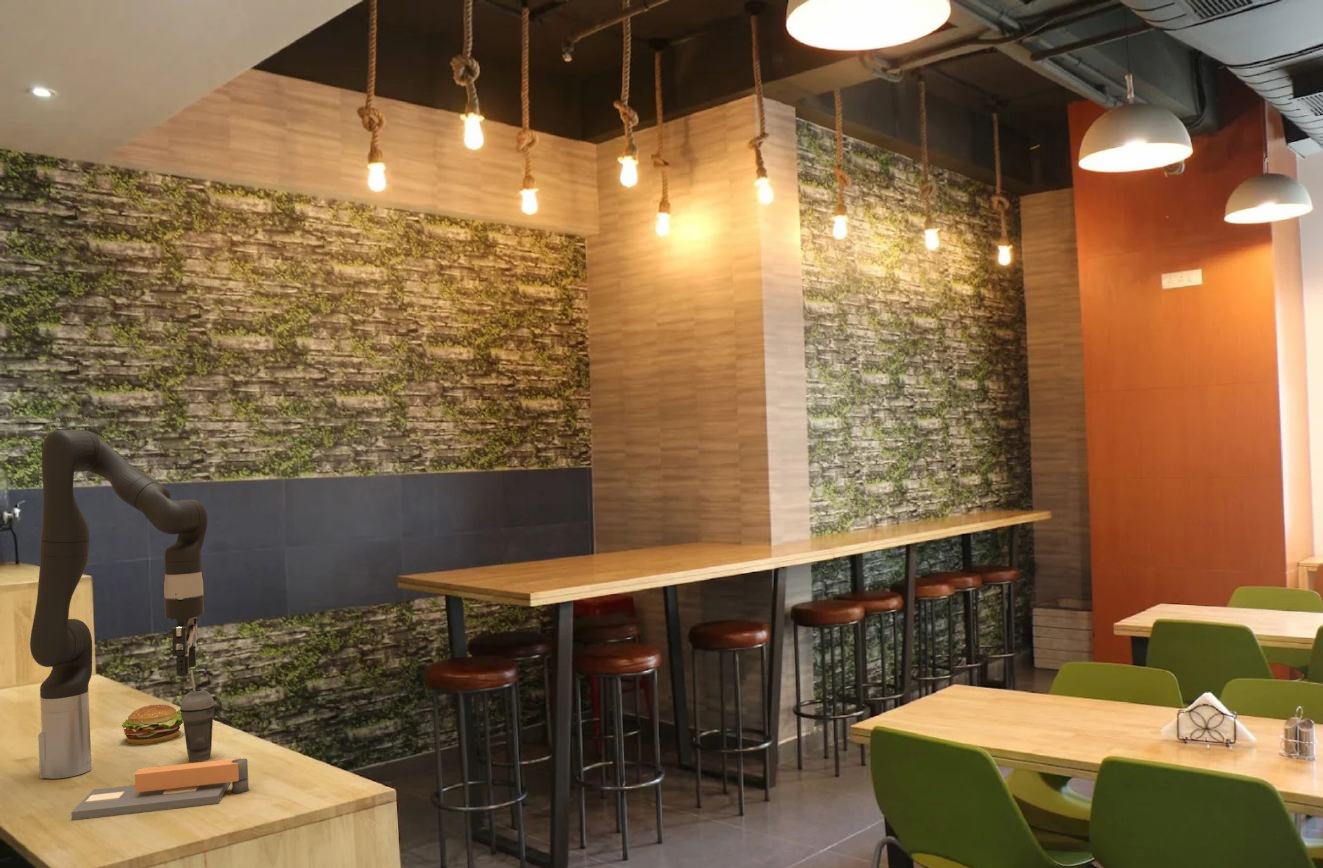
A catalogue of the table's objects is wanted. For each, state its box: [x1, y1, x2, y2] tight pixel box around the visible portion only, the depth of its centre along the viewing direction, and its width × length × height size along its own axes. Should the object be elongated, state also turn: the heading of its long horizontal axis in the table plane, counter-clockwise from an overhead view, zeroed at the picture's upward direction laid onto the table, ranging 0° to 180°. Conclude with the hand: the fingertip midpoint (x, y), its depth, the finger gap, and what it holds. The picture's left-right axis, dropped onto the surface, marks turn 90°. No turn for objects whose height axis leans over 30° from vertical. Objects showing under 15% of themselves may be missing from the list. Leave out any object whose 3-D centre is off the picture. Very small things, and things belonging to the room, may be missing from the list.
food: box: [121, 704, 183, 745], centre depth 257 cm, size 14×14×8 cm
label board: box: [70, 777, 250, 821], centre depth 209 cm, size 30×14×2 cm, turn 103°
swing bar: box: [134, 757, 249, 792], centre depth 210 cm, size 20×4×4 cm, turn 103°
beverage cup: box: [179, 669, 216, 763], centre depth 237 cm, size 7×7×20 cm
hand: (186, 670), depth 222 cm, fingers open, 8 cm apart
